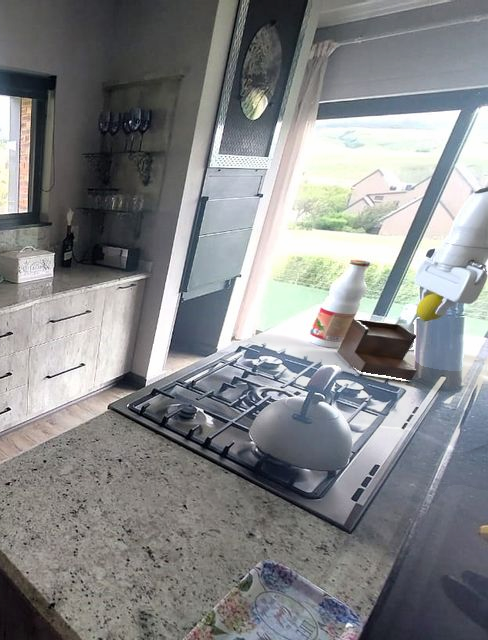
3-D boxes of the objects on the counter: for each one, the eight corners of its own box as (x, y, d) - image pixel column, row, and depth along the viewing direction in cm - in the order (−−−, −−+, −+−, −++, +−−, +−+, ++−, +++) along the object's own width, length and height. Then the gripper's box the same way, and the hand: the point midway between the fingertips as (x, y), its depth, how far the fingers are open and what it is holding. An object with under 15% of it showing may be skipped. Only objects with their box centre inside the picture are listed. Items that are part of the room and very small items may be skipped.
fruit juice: (335, 350, 134) (376, 266, 121) (303, 341, 141) (338, 260, 127) (343, 344, 140) (383, 262, 126) (311, 335, 146) (346, 256, 133)
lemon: (417, 317, 111) (433, 288, 107) (443, 324, 107) (460, 294, 103) (405, 319, 109) (421, 290, 106) (431, 326, 105) (448, 296, 101)
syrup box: (415, 351, 136) (439, 309, 129) (395, 349, 136) (418, 308, 130) (403, 344, 141) (425, 304, 134) (384, 342, 141) (405, 303, 135)
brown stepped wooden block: (381, 357, 130) (400, 324, 125) (409, 382, 115) (431, 345, 110) (337, 351, 134) (353, 318, 128) (358, 374, 119) (377, 338, 113)
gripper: (507, 267, 90) (471, 324, 97) (452, 250, 107) (425, 301, 114) (471, 264, 92) (438, 321, 99) (423, 248, 109) (397, 298, 116)
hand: (430, 310), depth 107 cm, fingers closed on lemon, 5 cm apart
